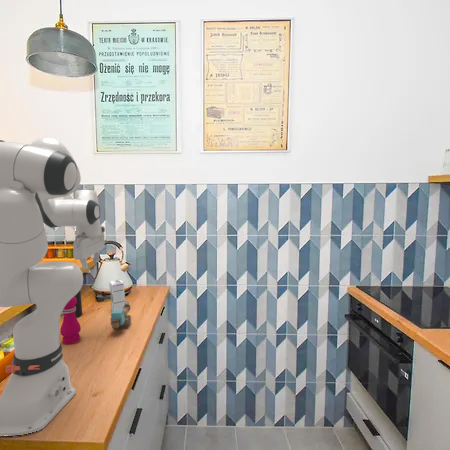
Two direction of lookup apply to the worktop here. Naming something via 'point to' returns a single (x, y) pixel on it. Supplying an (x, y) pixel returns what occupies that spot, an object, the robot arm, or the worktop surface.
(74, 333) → the pepper mill
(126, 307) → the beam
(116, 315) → the rider
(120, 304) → the syrup box
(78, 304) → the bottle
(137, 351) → the worktop surface
